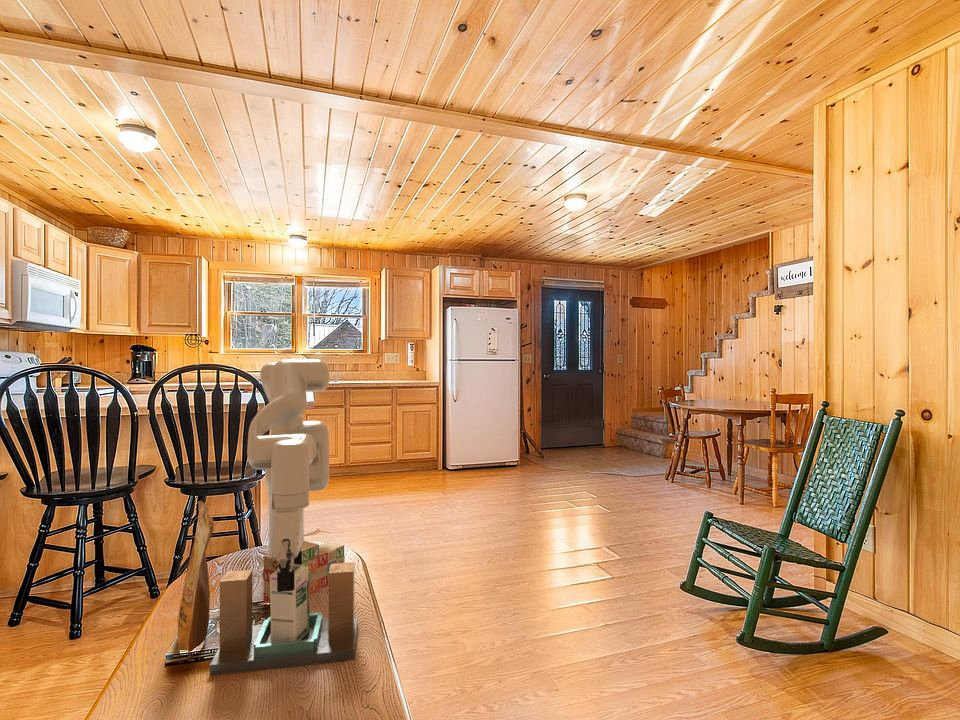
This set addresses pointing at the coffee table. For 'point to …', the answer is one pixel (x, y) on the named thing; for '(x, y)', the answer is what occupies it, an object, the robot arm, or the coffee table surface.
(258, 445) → the robot arm
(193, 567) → the pancake mix bag
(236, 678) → the coffee table surface
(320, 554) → the stack of blocks
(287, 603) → the syrup box
